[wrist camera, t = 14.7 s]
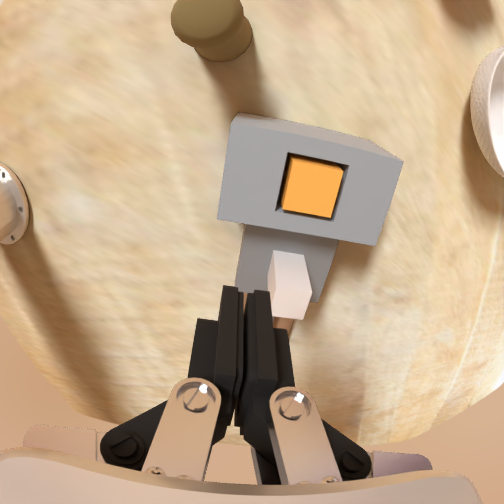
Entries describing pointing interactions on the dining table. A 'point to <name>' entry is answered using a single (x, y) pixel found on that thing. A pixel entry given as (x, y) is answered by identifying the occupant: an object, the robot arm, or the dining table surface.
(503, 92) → the cereal bowl
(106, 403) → the dining table surface
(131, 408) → the dining table surface
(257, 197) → the grey button housing
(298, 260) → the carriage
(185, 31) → the cork
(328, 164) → the button
